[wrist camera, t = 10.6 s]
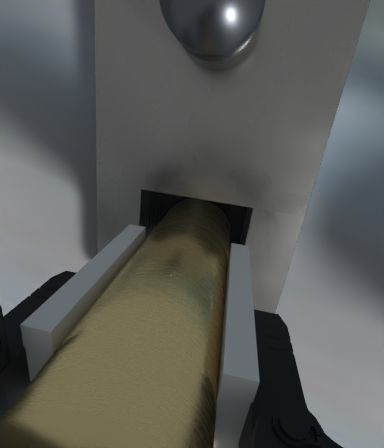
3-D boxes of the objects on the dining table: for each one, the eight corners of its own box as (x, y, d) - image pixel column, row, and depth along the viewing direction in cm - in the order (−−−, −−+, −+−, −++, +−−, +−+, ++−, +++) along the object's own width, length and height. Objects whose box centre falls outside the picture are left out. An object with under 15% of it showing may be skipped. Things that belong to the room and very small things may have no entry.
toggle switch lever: (223, 267, 16) (190, 587, 5) (160, 254, 16) (-1, 524, 5) (236, 205, 14) (227, 464, 3) (166, 193, 15) (-41, 389, 4)
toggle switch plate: (243, 373, 20) (245, 470, 14) (117, 343, 21) (73, 423, 15) (342, 18, 12) (437, -80, 6) (125, -1, 13) (37, -98, 7)
